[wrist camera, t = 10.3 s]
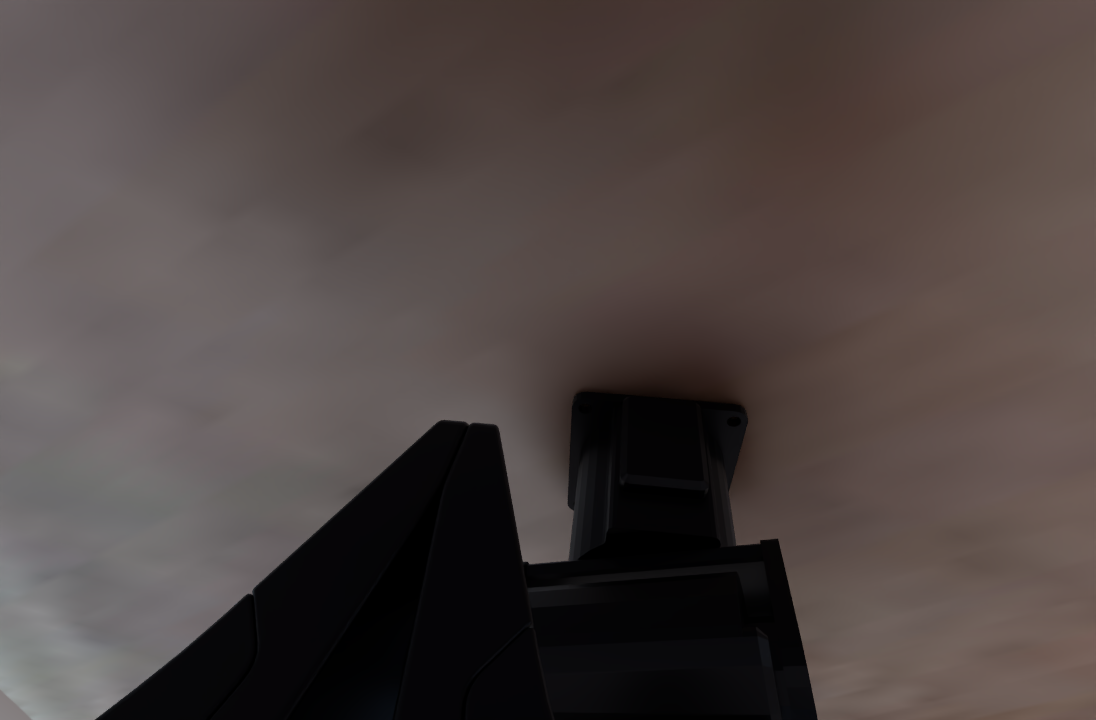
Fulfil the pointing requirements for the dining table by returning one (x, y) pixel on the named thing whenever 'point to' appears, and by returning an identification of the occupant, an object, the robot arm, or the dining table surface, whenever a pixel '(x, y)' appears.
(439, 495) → the robot arm
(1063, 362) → the dining table surface
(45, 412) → the dining table surface
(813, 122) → the dining table surface
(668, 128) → the dining table surface
